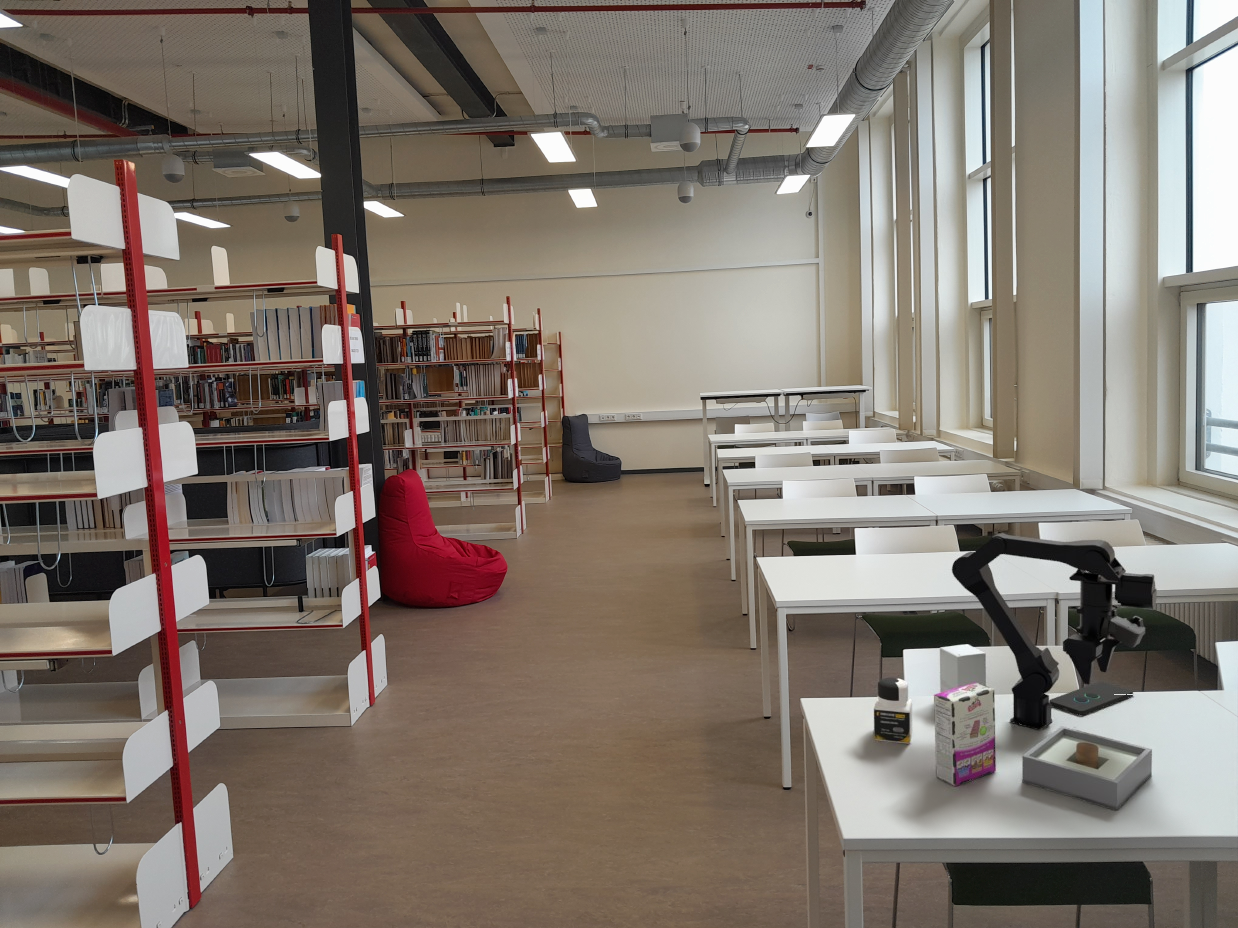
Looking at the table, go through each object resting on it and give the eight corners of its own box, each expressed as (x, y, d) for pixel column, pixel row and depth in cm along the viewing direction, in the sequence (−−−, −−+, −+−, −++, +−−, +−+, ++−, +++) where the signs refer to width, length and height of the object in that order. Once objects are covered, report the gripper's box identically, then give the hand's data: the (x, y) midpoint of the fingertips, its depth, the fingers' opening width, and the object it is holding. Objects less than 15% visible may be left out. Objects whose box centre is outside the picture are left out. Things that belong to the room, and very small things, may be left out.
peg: (1072, 775, 164) (1073, 746, 163) (1080, 768, 166) (1080, 740, 166) (1093, 781, 161) (1094, 752, 161) (1100, 774, 164) (1101, 746, 163)
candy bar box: (975, 762, 172) (974, 680, 171) (996, 772, 168) (996, 688, 166) (933, 776, 167) (932, 692, 166) (954, 787, 163) (954, 701, 161)
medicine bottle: (874, 740, 184) (873, 684, 183) (877, 727, 191) (876, 673, 190) (910, 744, 182) (909, 687, 180) (912, 730, 188) (911, 676, 187)
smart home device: (1047, 699, 199) (1099, 680, 209) (1047, 706, 199) (1099, 687, 209) (1082, 710, 191) (1135, 690, 201) (1082, 718, 192) (1135, 697, 202)
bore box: (1022, 781, 164) (1022, 755, 163) (1061, 750, 176) (1061, 725, 175) (1116, 810, 152) (1117, 782, 152) (1151, 774, 164) (1151, 748, 164)
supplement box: (987, 707, 199) (987, 652, 197) (957, 711, 197) (956, 656, 196) (968, 696, 206) (968, 643, 205) (939, 699, 205) (938, 646, 203)
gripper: (1123, 620, 167) (1122, 700, 169) (1155, 599, 180) (1154, 674, 182) (1061, 610, 176) (1061, 686, 177) (1096, 591, 188) (1096, 662, 190)
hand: (1095, 677), depth 181 cm, fingers open, 9 cm apart
